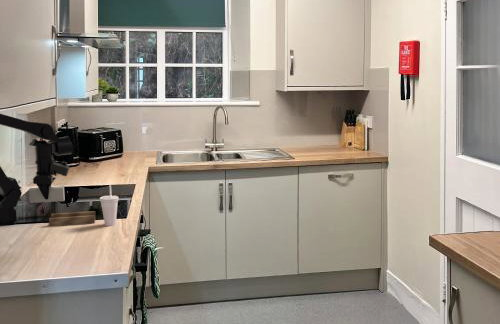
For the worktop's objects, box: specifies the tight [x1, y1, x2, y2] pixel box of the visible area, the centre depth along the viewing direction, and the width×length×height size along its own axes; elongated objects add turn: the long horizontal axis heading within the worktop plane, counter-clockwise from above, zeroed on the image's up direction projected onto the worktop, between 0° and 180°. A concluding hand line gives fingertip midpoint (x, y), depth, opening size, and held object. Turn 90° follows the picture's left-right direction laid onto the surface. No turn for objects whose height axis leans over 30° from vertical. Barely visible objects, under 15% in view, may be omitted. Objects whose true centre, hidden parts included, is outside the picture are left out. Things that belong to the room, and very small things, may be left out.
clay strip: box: [28, 185, 65, 204], centre depth 200 cm, size 12×3×5 cm, turn 104°
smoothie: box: [99, 184, 120, 227], centre depth 186 cm, size 6×6×14 cm
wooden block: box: [48, 210, 96, 227], centre depth 191 cm, size 15×7×3 cm, turn 103°
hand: (47, 198), depth 200 cm, fingers closed on clay strip, 3 cm apart
